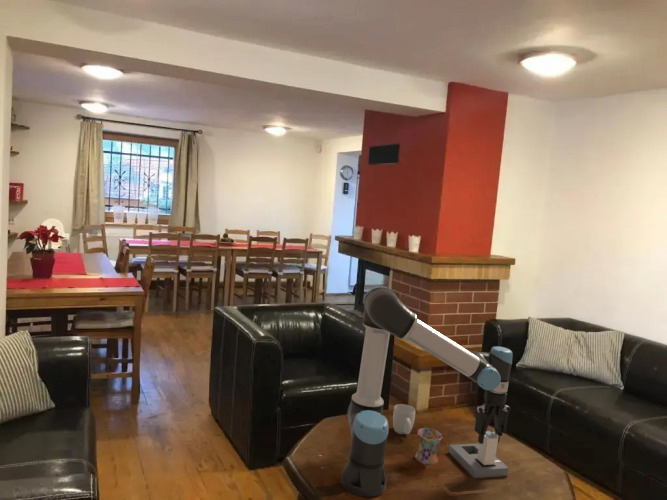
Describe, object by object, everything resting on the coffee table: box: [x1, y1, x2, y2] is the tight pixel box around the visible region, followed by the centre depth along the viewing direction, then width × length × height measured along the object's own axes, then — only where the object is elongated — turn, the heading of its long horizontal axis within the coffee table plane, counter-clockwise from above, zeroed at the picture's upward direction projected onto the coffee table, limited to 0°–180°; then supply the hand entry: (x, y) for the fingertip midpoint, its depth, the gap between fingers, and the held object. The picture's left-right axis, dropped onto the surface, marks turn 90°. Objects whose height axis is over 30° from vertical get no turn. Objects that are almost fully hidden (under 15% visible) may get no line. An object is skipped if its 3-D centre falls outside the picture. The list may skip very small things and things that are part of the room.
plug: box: [477, 430, 499, 465], centre depth 189 cm, size 4×4×11 cm
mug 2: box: [414, 427, 443, 466], centre depth 195 cm, size 12×9×11 cm
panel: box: [448, 442, 510, 479], centre depth 194 cm, size 14×18×4 cm
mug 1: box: [392, 403, 416, 435], centre depth 214 cm, size 13×9×10 cm
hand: (487, 450), depth 189 cm, fingers closed on plug, 4 cm apart
